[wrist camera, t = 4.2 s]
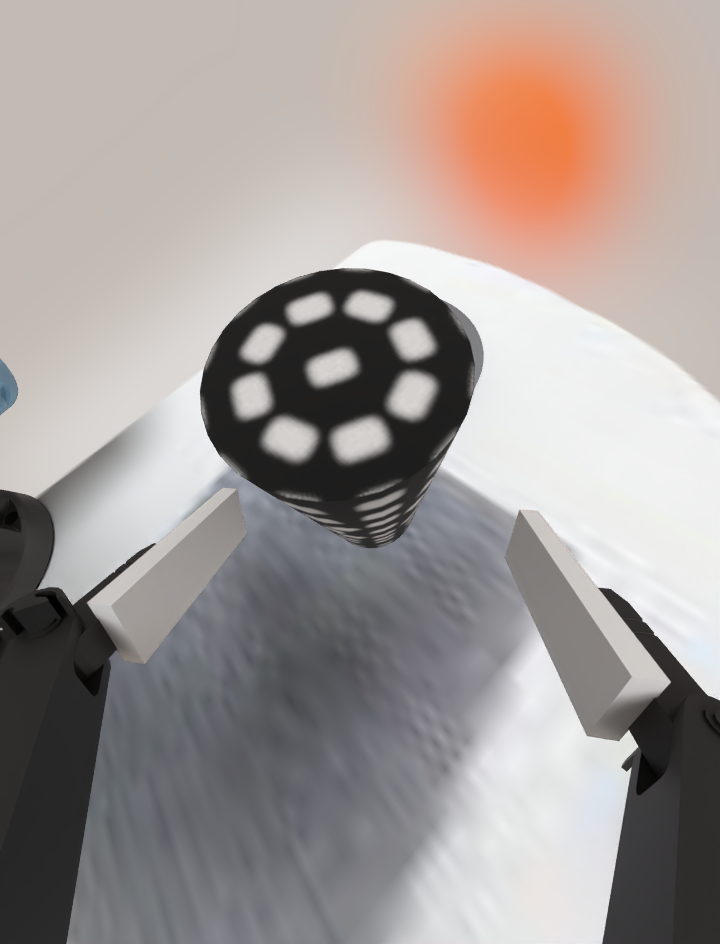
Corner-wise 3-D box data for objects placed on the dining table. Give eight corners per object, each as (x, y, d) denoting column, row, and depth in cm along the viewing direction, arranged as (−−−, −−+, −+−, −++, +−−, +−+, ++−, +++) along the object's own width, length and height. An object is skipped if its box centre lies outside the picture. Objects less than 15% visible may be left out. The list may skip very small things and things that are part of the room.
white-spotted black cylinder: (394, 453, 29) (408, 239, 10) (427, 530, 26) (533, 436, 7) (319, 480, 29) (185, 315, 10) (343, 560, 26) (223, 548, 7)
